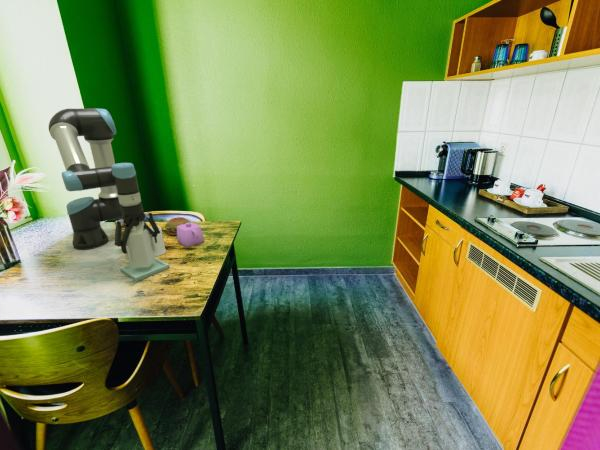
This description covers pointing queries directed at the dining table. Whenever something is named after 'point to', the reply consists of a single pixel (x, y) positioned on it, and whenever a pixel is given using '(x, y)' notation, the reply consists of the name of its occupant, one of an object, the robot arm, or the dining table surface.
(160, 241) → the mug
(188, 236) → the teapot
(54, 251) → the dining table surface
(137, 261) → the milk carton
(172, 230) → the food
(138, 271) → the tray
